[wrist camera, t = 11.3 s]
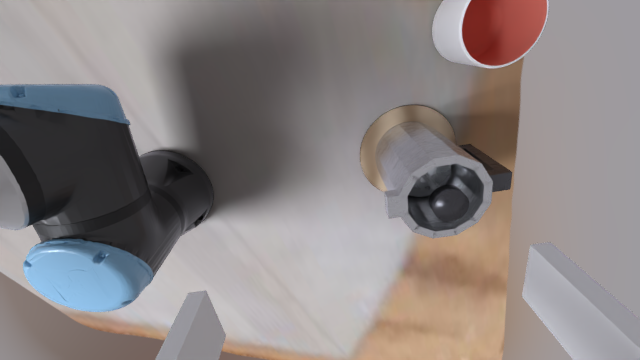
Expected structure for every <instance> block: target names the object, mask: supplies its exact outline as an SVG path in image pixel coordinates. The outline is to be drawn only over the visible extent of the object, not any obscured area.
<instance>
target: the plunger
mask: <svg viewBox="0 0 640 360" xmlns="http://www.w3.org/2000/svg"><path fill="white" fill-rule="evenodd" d="M450 173H451V165H444V166H438V167H434V168H433V169H431V170H430V171H428V172H427V173H426V174H424V175H423V176H421V177H420V178H418V179H417V180H416V182H415V184H414V186H413V187H412V189H411V191H410V193H409V195H411V196H415V197H423V196H428V195H430V197H429V206H430V208H431V210H432V211H433V212H434V214H435V215H436V217H437V218H438V219H440V220H442V221H445V222H452V221H456V220H458V219H460V218H461V217H463V216H464V215H465V214H466V212H467V211H468V208H469V200H468V198H467V196H466V195H465V194H464V193H463V192H462V191H461V190H460V189H459V188H458V187H456V186H454V185H445V184H446V182H447V181H448V179H449V176H450Z"/></svg>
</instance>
